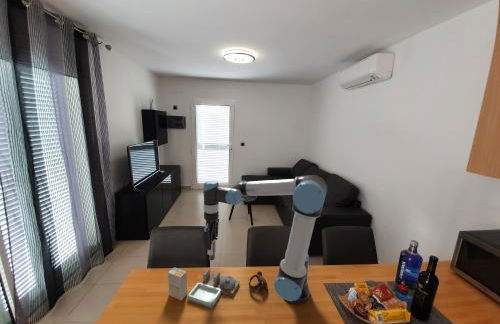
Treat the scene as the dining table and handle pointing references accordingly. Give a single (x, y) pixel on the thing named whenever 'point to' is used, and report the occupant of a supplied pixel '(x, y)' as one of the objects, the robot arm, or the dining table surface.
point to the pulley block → (221, 282)
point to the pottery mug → (260, 280)
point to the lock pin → (212, 257)
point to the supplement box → (177, 283)
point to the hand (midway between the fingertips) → (211, 252)
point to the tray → (204, 295)
